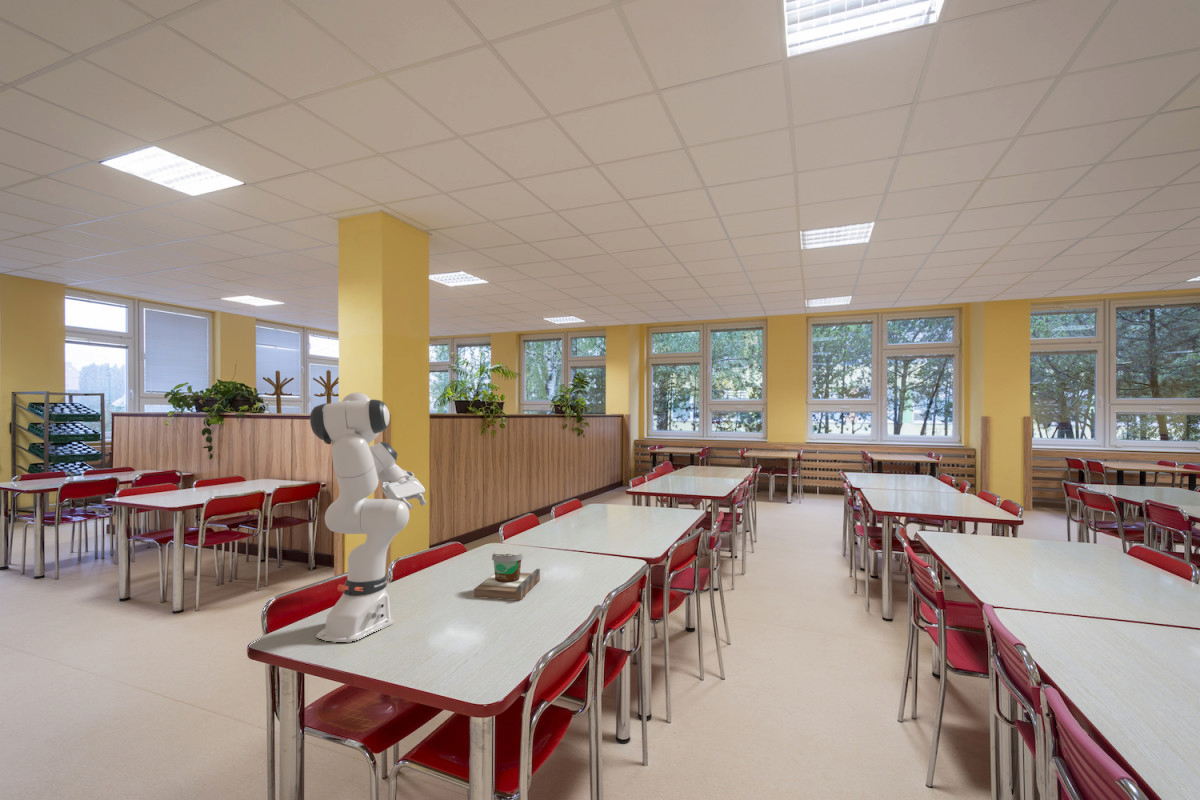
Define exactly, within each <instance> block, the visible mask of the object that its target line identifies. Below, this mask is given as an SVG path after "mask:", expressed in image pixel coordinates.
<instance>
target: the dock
mask: <svg viewBox="0 0 1200 800" xmlns="http://www.w3.org/2000/svg"><path fill="white" fill-rule="evenodd" d="M539 581H540V582H541V568H536V569H535V570H534V571H533V572H532V573H531V572H520V577H519V580H517V581H514V582H508V583H502V582H498V581H496V580H495V572H494V573H493V574H492V575H490V576H489V577H488V578H486V579H485V580H484V581H482V582H481V583H480V584H478V585H477V586H475V587H474V588H473V597H474V598H479V597H487V598H486V599H493V598H501V599H500V600H506V599H515V600H514V601H520V600H521V601H522V600H523V599H524V598H525V597H526V596H527V595H528V594H529V593H530V592H531V591H532V590H533V589H534V588H535V587H536V586H537V585H538V584H539V583H540V582H539ZM538 582H539V583H538ZM537 583H538V584H537ZM536 584H537V585H536ZM535 585H536V586H535ZM534 586H535V587H534ZM533 587H534V588H533ZM532 588H533V589H532ZM531 589H532V590H531ZM530 590H531V591H530ZM529 591H530V592H529ZM528 592H529V593H528ZM527 593H528V594H527ZM526 594H527V595H526ZM525 595H526V596H525ZM524 596H525V597H524ZM523 597H524V598H523Z"/></svg>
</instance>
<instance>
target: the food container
mask: <svg viewBox="0 0 1200 800" xmlns="http://www.w3.org/2000/svg"><path fill="white" fill-rule="evenodd" d="M523 555H524V554H522V553H519V554H516V555H515V554H511V553H502V554H501V553H500V554H499V553H498V554H496V553H495V551H493V553H492V555H491V556H492V557H491V560H492V561H493V567H494V573H495V580H496V581H498V582H502V583H508V582H514V581H517V580H519V577H520V573H521V567H522V566H521V565H522V560H523V559H524V557H523Z"/></svg>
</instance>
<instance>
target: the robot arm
mask: <svg viewBox="0 0 1200 800" xmlns="http://www.w3.org/2000/svg"><path fill="white" fill-rule="evenodd" d="M390 415H391V414H390V411H389V408H388V407H387V405H386V403H385V402H383V400H379V399H371V398H370V397H369V396H368V395H367V394H365V393H362V392H352V393H350V394H347V395H346V396H344V398H343V399H342V400H341V401H337V402H335V401H334V402H331V403H322V404H319V405H316V406H314V407H313V408H312V410H311V412H310V417H309V424H310V425H309V426H310V427H311V430H312V432H313V434H314V435H315V437H317V438H318V439H320V440H322V441H323V442H324V444H326V445H331V456H332V457H331V458H332V465H333V466H332V467H333V469H334V473H335V477H336V480H337V485H338V491H339V492H338V497H337V499H336V500H334V501H333V502H332V503H331V504H330V505H329V506H328V508H326V511H325V515H324V522H325V526H326V528H327V529H328V530H329V531H331V532H334V533H339V534H344V535H353V534H354V535H362V534H363V535H364V534H365V535H366V539H365V542H363V543H362V544H360V545H358V546H356V547H354V548H353V549H352V550H351V551H349V552H350V553H349V555H348V557H347V578H346V580H345V582H344V584H342V583H341V584H338V586H337V591H338V592H343V593H342V595H341V596H340V598H339V599H338V600H337V601H336V603H335V605H334V606H333V607H332V608H331V610H330V611H329V612H328V614H327V617H326V622H325V627H324V628H322V629H321V630H320V631H318V632H317V633H316V637H317V638H319V639H322V640H325V641H324V642H326V641H333V642H332V643H336V642H347V643H353V642H352V641H355V642H357V641H356V640H358V641H360V640H359V639H361V638H363V637H365V636H367V635H369V634H371V633H373V632H375V633H376V631H377V632H378V630H379V631H381V630H383V629H386V628H387V627H389V626H391V625H393V624H394V619H393V618H392V617H391V608H390V607H391V605H390V597H389V594H388V593H387V589H386V587H387V586H388V584H387V583H388V576H387V574H386V568H387V567H386V565H387V564H386V563H387V555H388V554H387V553H388V549H389V547H390V545H391V542H392V541H393V540H394V538H395V537H396V536H397V535H398V534H399V533H401V532H402V531H403V530H404V529H405V528H406V526H407V525H408V523H409V520H410V510H412V509H413V508H414V505H413V504H412V503H411V502H409V500H413V499H416V500H418V501H419V505H421V506H425V505H426V504H427V501H426V500H425V498H424V494H425V492H426V488H425V487H424V486H423V484H422V483H421V482H420V480H419V479H418V478H416V477H415V474H414V473H413V472H412V471H408V470H405V469H403V468H401V467H400V466H399V465H397V464H396V462H397V460H398V455H399V454H398V452H397V451H396V450H395V449H394V448H393V447H392V445H390V443H388V442H384V441H379V442H378V443H376V444H372V445H370V443H372V442H373V441H374V440H375V439H377V438H378V436H379V435H380V433H382V432H384V431H386V429H387V428H388V427H389V423H390ZM369 445H370V446H369ZM379 482H380V483H381V484H380V487H381V489H382V493H383V494H384V496H385V498H368V497H369V496H370V495H372V494H373V493H374V492H375V491H376V490H377V489H378V486H379ZM380 629H381V630H380ZM373 634H374V633H373ZM371 635H372V634H371ZM369 636H370V635H369ZM316 637H315V638H316ZM367 637H368V636H367ZM317 638H316V639H317ZM365 638H366V637H365ZM319 639H318V640H319ZM363 639H364V638H363ZM361 640H362V639H361Z"/></svg>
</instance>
